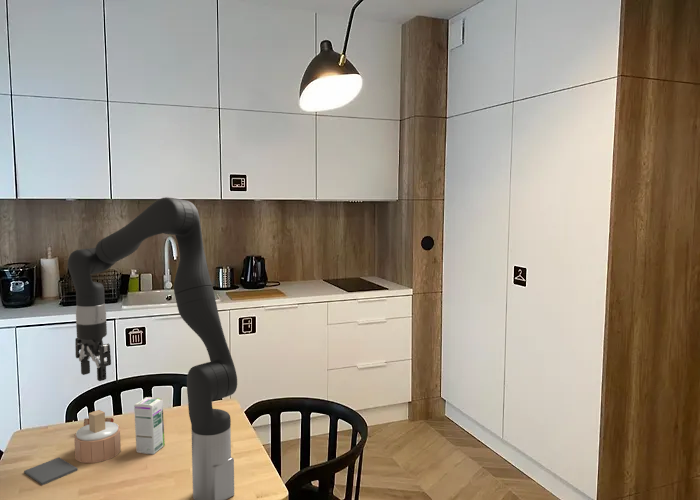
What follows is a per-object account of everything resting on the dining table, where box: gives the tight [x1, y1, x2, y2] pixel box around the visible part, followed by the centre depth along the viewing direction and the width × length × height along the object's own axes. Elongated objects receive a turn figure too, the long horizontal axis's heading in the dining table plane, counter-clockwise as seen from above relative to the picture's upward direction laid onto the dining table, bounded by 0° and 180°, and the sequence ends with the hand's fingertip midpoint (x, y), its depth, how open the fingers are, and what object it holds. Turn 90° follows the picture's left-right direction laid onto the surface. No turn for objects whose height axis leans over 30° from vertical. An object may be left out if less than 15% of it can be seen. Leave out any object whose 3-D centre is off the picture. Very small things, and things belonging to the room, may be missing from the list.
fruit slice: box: [83, 417, 114, 427], centre depth 163 cm, size 8×7×5 cm
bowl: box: [73, 425, 122, 464], centre depth 150 cm, size 12×12×6 cm
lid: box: [76, 409, 119, 441], centre depth 150 cm, size 11×11×6 cm
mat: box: [23, 457, 79, 486], centre depth 140 cm, size 10×9×1 cm
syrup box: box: [133, 396, 166, 455], centre depth 152 cm, size 6×6×14 cm
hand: (93, 377), depth 148 cm, fingers open, 8 cm apart
